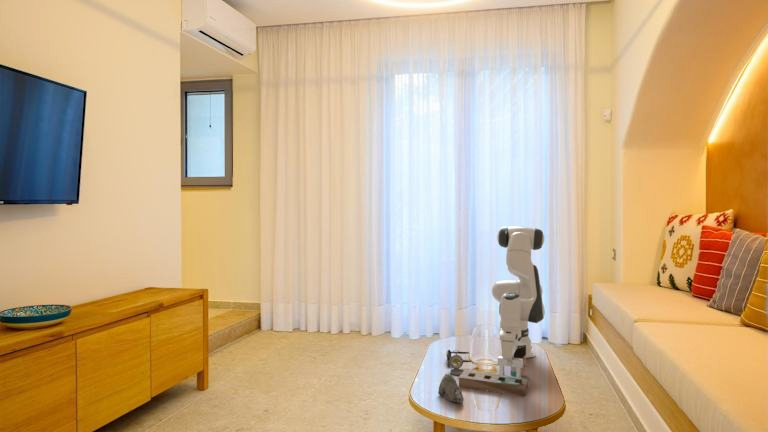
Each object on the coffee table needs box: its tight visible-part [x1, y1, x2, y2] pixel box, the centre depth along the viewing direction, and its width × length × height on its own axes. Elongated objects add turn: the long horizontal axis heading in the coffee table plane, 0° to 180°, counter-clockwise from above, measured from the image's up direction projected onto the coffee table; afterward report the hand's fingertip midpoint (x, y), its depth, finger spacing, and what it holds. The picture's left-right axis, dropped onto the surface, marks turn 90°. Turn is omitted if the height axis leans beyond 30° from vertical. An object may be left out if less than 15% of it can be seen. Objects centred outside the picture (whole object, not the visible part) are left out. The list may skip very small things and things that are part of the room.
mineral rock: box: [437, 373, 465, 404], centre depth 201 cm, size 13×11×10 cm
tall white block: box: [497, 355, 523, 379], centre depth 211 cm, size 3×10×8 cm, turn 67°
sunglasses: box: [445, 349, 472, 367], centre depth 247 cm, size 14×15×5 cm
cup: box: [510, 341, 527, 378], centre depth 229 cm, size 7×7×15 cm
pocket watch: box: [448, 349, 465, 376], centre depth 233 cm, size 8×8×10 cm
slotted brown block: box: [458, 369, 529, 397], centre depth 214 cm, size 10×28×4 cm, turn 67°
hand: (510, 363), depth 211 cm, fingers closed on tall white block, 3 cm apart
